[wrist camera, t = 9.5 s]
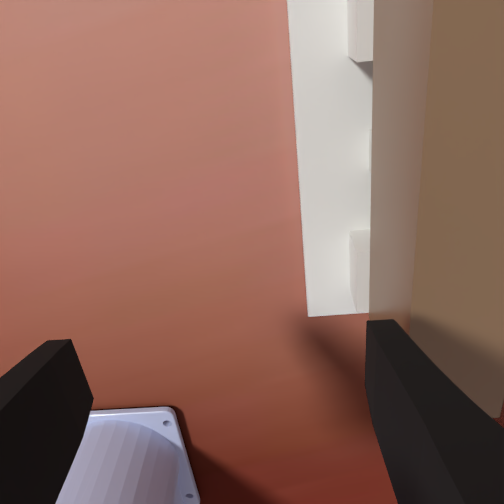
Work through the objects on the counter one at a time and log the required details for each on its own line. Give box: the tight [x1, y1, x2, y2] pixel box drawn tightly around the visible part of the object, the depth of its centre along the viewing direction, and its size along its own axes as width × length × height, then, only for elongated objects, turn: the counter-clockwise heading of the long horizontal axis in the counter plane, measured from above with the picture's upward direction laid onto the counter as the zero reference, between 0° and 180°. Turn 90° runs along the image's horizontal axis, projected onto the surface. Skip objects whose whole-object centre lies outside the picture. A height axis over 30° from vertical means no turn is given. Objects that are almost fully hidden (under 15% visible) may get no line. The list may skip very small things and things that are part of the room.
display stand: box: [287, 0, 374, 317], centre depth 17 cm, size 16×8×2 cm, turn 7°
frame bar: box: [369, 0, 504, 418], centre depth 13 cm, size 14×3×6 cm, turn 7°
